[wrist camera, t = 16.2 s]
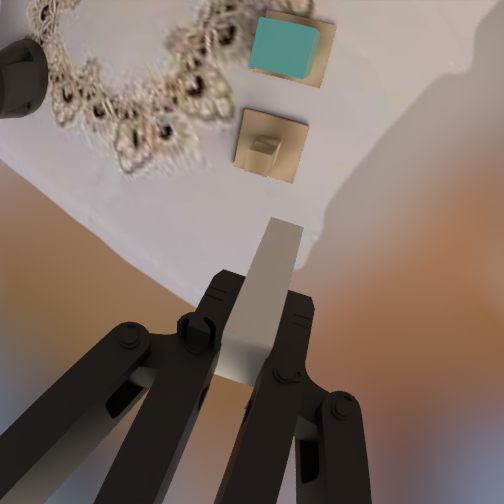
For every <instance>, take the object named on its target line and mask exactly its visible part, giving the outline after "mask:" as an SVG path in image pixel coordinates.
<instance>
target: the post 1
mask: <svg viewBox="0 0 504 504" xmlns="http://www.w3.org/2000/svg"><path fill="white" fill-rule="evenodd" d="M265 17H266V18H271V19H276V20H281V21H286V22H291V23H295V24H300V25H304V26H308V27H312V28H316V29H317V30H318V31H319V32H320V33H321V36H320V40H319V43H318V47H317V51H316V55H315V59H314V62H313V66H312V70H311V74H310V75H309V76H307V77H306V78H305V79H303V80H302V79H299V78H295V77H291V76H287V75H283V74H279V73H275V72H271V71H267V70H262V69H257V68H253V71H254V72H259V73H263V74H268V75H272V76H276V77H280V78H284V79H288V80H292V81H296V82H299V83H303V84H307V85H310V86H314V87H317V88H320V86H321V82H322V78H323V75H324V71H325V68H326V64H327V60H328V57H329V53H330V49H331V46H332V42H333V38H334V34H335V31H336V27H337V26H335V25H331V24H327V23H324V22H320V21H316V20H312V19H308V18H304V17H300V16H295V15H290V14H286V13H281V12H275V11H270V10H266V14H265Z"/></svg>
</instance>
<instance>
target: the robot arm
mask: <svg viewBox="0 0 504 504" xmlns="http://www.w3.org/2000/svg"><path fill="white" fill-rule="evenodd" d="M47 85H48V67H47V61H46V58H45V55H44V52H43V50H42V49H41V47H40V46H39V45H38V44H37V43H36V42H35V41H33V40H30V39H25V40H20V41H16V42H14V43H12V44H10V45H8V46H7V47H5V48H4V49H2V50H1V51H0V119H5V118H20V117H24V116H27V115H29V114H31V113H33V112H35V111H36V110H37V109H38V108H39V107H40V105H41V104H42V102H43V100H44V97H45V94H46V90H47ZM303 228H304V227H301V226H298V225H295V224H292V223H288V222H285V221H282V220H279V219H276V218H273V217H271V219H270V221H269V224H268V226H267V228H266V231H265V233H264V235H263V238H262V240H261V243H260V245H259V247H258V250H257V252H256V255H255V257H254V259H253V262H252V264H251V266H250V269H249V271H248V274H247V276H246V277H245V276H242V275H239V274H236V273H233V272H230V271H227V270H224V269H223V270H222V271H220V272H219V273H218V274H216V275H215V276H214V277H213V279H212V281H211V282H210V284H209V287H208V288H207V290H206V292H205V294H204V296H203V297H202V299H201V301H200V303H199V305H198V307H197V309H196V311H195V312H189V313H187V314H185V315H183V316H182V317H181V318H180V319H179V320H178V321H177V333H175V334H171V335H162V334H152V333H149V332H148V330H146V328H145V327H144V326H143V325H141V324H138V323H135V322H125V323H121V324H119V325H118V326H116V327H115V328H113V329H112V330H111V331H110V332H109V333H108V334H107V335H106V336H105V337H104V338H102V339H101V340H100V341H99V342H98V343H97V344H96V345H95V346H94V347H93V348H92V349H91V350H89V351H88V352H87V353H86V354H85V355H84V356H83V357H82V358H81V359H80V360H79V361H78V362H76V363H75V364H74V365H73V366H72V367H71V368H70V369H69V370H68V371H67V372H66V373H65V374H64V375H63V376H62V377H61V378H60V379H58V380H57V381H56V382H55V383H54V384H53V385H52V386H51V387H50V388H49V389H48V390H47V391H46V392H45V393H44V394H43V395H42V396H40V398H38V399H37V400H36V401H35V402H34V403H33V404H32V406H30V407H29V408H28V409H27V410H26V411H25V412H24V413H23V414H22V415H21V416H20V417H19V418H18V419H17V420H16V421H15V422H14V423H13V424H12V425H11V426H10V427H9V428H8V429H7V430H6V431H5V432H4V433H3V434H2V435H1V436H0V504H43V503H44V502H45V501H46V500H47V499H48V498H49V497H50V496H51V495H52V494H53V493H54V492H55V491H56V490H57V489H58V488H59V487H60V485H61V484H62V483H63V482H64V481H65V480H66V479H67V478H68V477H69V476H70V475H71V474H72V472H74V471H75V469H76V468H77V467H78V466H79V465H80V464H81V463H82V462H83V461H84V460H85V459H86V458H87V457H88V455H89V454H90V453H91V452H92V451H93V450H94V449H95V448H96V447H97V446H98V444H100V442H101V441H102V440H103V439H104V438H105V437H106V436H107V435H108V434H109V433H110V431H111V430H112V429H113V428H114V427H115V426H116V425H117V424H118V423H119V422H120V421H121V420H122V418H123V417H124V416H125V415H126V414H127V413H128V412H129V411H130V410H131V409H132V407H133V406H134V405H135V404H136V403H137V402H138V400H140V399H141V398H142V396H143V395H144V394H145V393H146V392H147V391H148V390H149V389H150V390H149V392H148V394H147V396H146V398H145V400H144V402H143V404H142V406H141V407H140V409H139V411H138V414H137V415H136V417H135V419H134V421H133V423H132V425H131V428H130V429H129V431H128V433H127V435H126V437H125V439H124V441H123V443H122V445H121V448H120V450H119V452H118V454H117V456H116V458H115V460H114V462H113V464H112V466H111V468H110V470H109V472H108V474H107V476H106V478H105V481H104V483H103V485H102V487H101V489H100V491H99V493H98V495H97V497H96V499H95V502H94V504H162V503H163V500H164V498H165V495H166V493H167V491H168V488H169V485H170V483H171V481H172V478H173V476H174V473H175V471H176V469H177V466H178V464H179V461H180V459H181V456H182V454H183V451H184V449H185V447H186V444H187V442H188V439H189V437H190V434H191V432H192V429H193V427H194V425H195V422H196V419H197V417H198V415H199V412H200V410H201V407H202V405H203V402H204V400H205V397H206V395H207V392H208V390H209V386H210V382H211V379H212V377H213V375H214V374H217V375H220V376H222V377H226V378H228V379H231V380H234V381H237V382H240V383H243V384H246V385H249V386H252V387H254V389H253V392H252V395H251V397H250V399H249V401H248V403H247V405H246V407H245V409H246V411H245V414H244V417H243V420H242V423H241V426H240V429H239V432H238V435H237V438H236V441H235V444H234V447H233V450H232V453H231V456H230V459H229V461H228V465H227V467H226V470H225V473H224V476H223V479H222V482H221V484H220V487H219V490H218V493H217V495H216V499H215V501H214V504H276V502H277V498H278V495H279V491H280V487H281V484H282V480H283V476H284V472H285V468H286V464H287V460H288V456H289V452H290V448H291V444H292V440H293V436H295V455H296V456H295V458H296V502H297V504H372V500H371V489H370V478H369V469H368V460H367V453H366V443H365V436H364V428H363V421H362V414H361V408H360V406H359V403H358V401H357V400H356V399H355V397H354V396H352V395H351V394H349V393H347V392H343V391H335V392H331V393H329V392H328V391H326V390H324V389H323V388H321V387H319V386H318V385H317V384H315V383H314V382H313V381H312V380H311V379H310V377H309V376H308V374H307V372H306V368H305V360H306V355H307V349H308V344H309V338H310V333H311V327H312V320H313V316H314V310H315V308H314V305H313V301H312V298H311V297H309V296H306V295H303V294H300V293H297V292H293V291H290V290H288V288H289V284H290V280H291V277H292V273H293V269H294V265H295V261H296V257H297V252H298V248H299V244H300V240H301V236H302V232H303Z"/></svg>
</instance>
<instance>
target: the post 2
mask: <svg viewBox="0 0 504 504" xmlns="http://www.w3.org/2000/svg"><path fill="white" fill-rule="evenodd" d="M308 128H309V125H306V124H302V123H299V122H296V121H292V120H289V119H285V118H282V117H278V116H274V115H270V114H267V113H263V112H259V111H255V110H251V109H247V108H246V109H245V111H244V116H243V121H242V126H241V131H240V136H239V141H238V146H237V151H236V156H235V162H234V167H238V168H241V169H244V171H248V172H251V173H255V174H258V175H262V176H265V177H267V176H269V177H272V178H275V179H279V180H282V181H285V182H288V183H293V180H294V177H295V173H296V170H297V166H298V163H299V159H300V156H301V153H302V149H303V146H304V142H305V139H306V135H307V132H308Z"/></svg>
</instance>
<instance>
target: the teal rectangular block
mask: <svg viewBox="0 0 504 504" xmlns="http://www.w3.org/2000/svg"><path fill="white" fill-rule="evenodd" d="M320 36H321V33H320V32H319V31H318V30H317V29H316V28H312V27H308V26H304V25H300V24H295V23H291V22H286V21H281V20H276V19H271V18H266V17H260V16H259V20H258V25H257V29H256V34H255V38H254V43H253V47H252V52H251V56H250V61H249V66H248V67H253V68H257V69H262V70H267V71H271V72H275V73H279V74H283V75H287V76H291V77H295V78H299V79H302V80H303V79H305V78H306V77H307V76H309V75H310V74H311V70H312V66H313V62H314V59H315V55H316V51H317V47H318V43H319V40H320Z"/></svg>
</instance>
